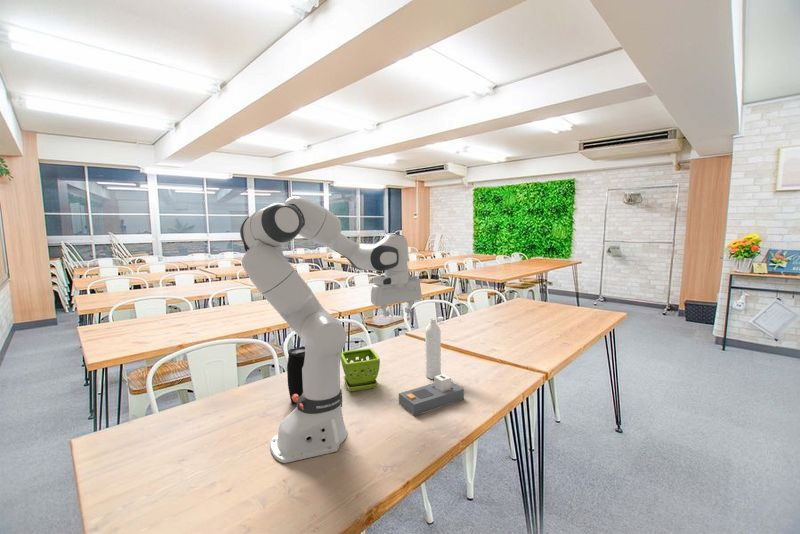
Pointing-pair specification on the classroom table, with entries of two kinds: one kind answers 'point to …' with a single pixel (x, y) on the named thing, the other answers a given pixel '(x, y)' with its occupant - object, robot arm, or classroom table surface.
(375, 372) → the flower pot
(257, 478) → the classroom table surface
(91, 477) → the classroom table surface
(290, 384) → the portable speaker
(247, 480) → the classroom table surface
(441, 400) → the power strip
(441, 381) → the block
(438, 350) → the water bottle
